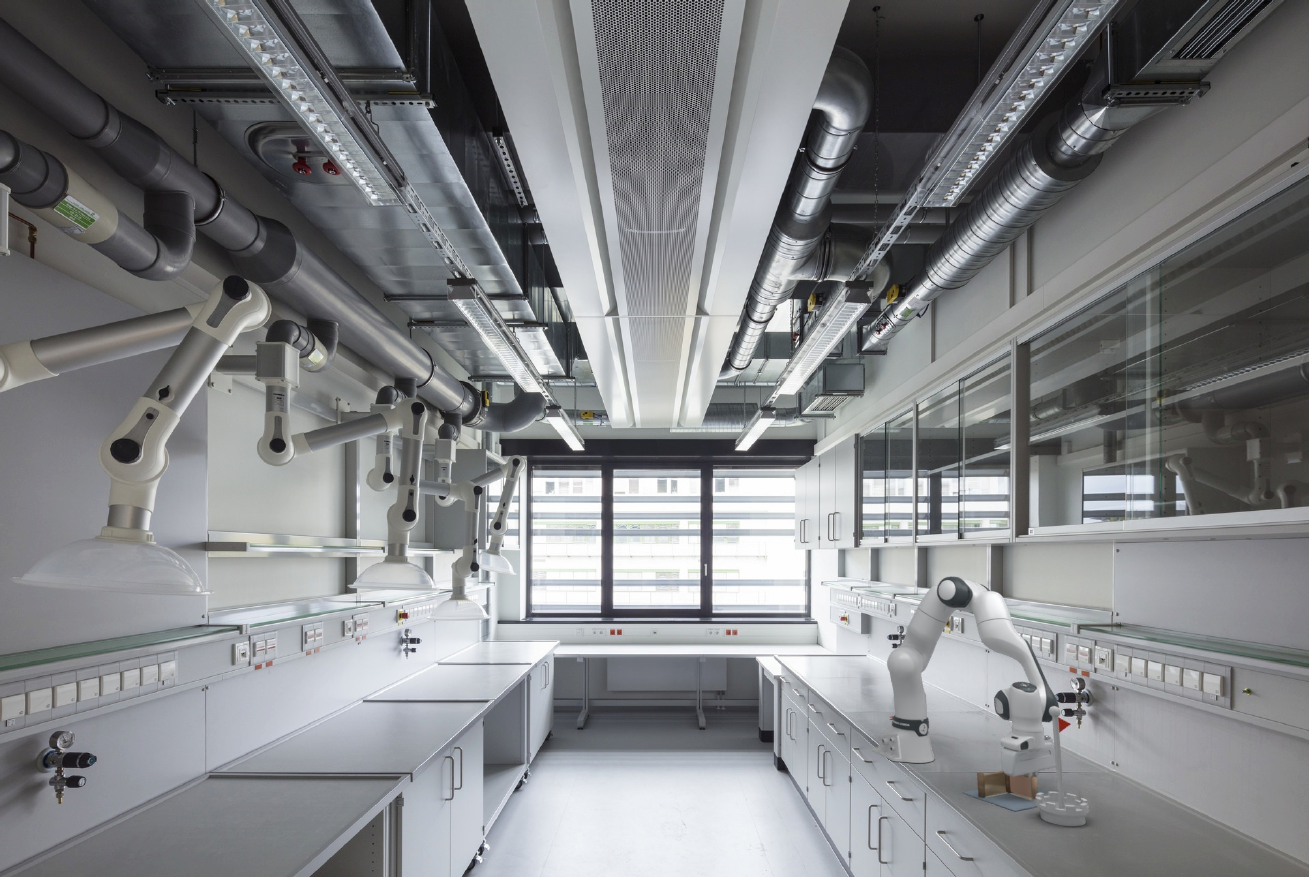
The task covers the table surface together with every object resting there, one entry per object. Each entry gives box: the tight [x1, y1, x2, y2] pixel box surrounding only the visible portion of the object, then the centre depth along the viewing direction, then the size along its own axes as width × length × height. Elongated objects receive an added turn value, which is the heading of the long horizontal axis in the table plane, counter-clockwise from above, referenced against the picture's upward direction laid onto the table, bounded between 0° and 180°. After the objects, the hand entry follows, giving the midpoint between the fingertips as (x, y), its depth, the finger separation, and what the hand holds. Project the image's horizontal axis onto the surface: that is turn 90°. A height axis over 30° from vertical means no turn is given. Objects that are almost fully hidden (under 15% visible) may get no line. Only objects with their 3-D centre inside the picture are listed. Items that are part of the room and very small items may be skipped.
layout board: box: [962, 788, 1049, 813], centre depth 236 cm, size 19×24×1 cm
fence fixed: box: [976, 770, 1011, 798], centre depth 237 cm, size 2×13×7 cm, turn 116°
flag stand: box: [1035, 706, 1090, 827], centre depth 218 cm, size 13×13×30 cm
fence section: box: [1010, 775, 1039, 799], centre depth 234 cm, size 2×9×6 cm, turn 27°
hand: (1031, 786), depth 235 cm, fingers closed
